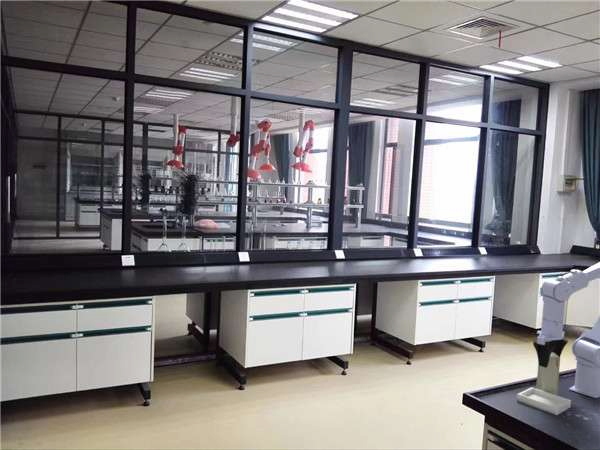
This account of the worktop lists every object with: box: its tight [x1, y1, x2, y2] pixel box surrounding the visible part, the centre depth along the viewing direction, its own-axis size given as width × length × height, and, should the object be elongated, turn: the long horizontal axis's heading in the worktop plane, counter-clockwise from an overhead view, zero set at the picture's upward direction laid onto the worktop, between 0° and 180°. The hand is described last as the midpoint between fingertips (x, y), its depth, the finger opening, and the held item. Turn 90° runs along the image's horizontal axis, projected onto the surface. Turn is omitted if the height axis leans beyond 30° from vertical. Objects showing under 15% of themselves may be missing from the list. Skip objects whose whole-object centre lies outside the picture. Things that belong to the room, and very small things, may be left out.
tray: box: [516, 386, 572, 416], centre depth 142 cm, size 9×11×2 cm
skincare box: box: [535, 352, 561, 396], centre depth 149 cm, size 6×4×12 cm
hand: (548, 364), depth 149 cm, fingers closed on skincare box, 7 cm apart
